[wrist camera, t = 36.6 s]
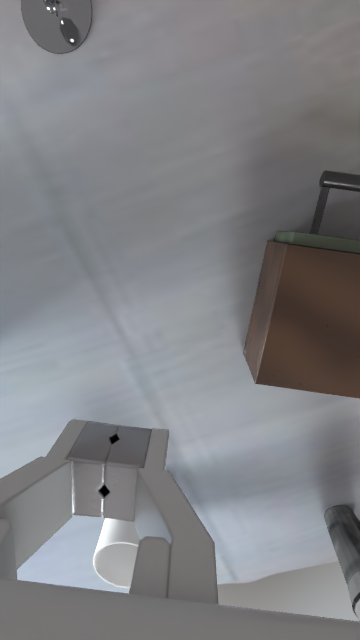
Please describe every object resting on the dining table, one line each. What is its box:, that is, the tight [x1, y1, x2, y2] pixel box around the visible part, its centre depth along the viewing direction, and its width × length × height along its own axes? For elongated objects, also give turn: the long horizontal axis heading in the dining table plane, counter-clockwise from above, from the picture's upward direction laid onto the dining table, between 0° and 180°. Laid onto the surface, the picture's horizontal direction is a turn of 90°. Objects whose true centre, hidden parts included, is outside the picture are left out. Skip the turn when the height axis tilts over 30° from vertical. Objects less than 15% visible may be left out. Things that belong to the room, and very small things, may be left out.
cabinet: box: [243, 241, 360, 398], centre depth 33 cm, size 15×13×8 cm
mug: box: [93, 518, 140, 588], centre depth 42 cm, size 12×8×10 cm
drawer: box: [275, 171, 360, 254], centre depth 32 cm, size 19×11×6 cm, turn 173°
